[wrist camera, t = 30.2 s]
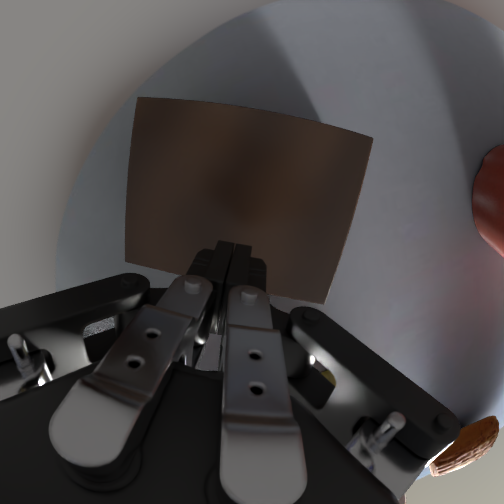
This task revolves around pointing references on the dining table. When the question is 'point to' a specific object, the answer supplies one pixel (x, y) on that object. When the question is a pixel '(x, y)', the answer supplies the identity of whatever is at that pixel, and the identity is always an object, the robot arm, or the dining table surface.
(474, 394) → the dining table surface
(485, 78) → the dining table surface
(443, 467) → the clay tablet
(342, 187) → the lid
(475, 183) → the flower pot
